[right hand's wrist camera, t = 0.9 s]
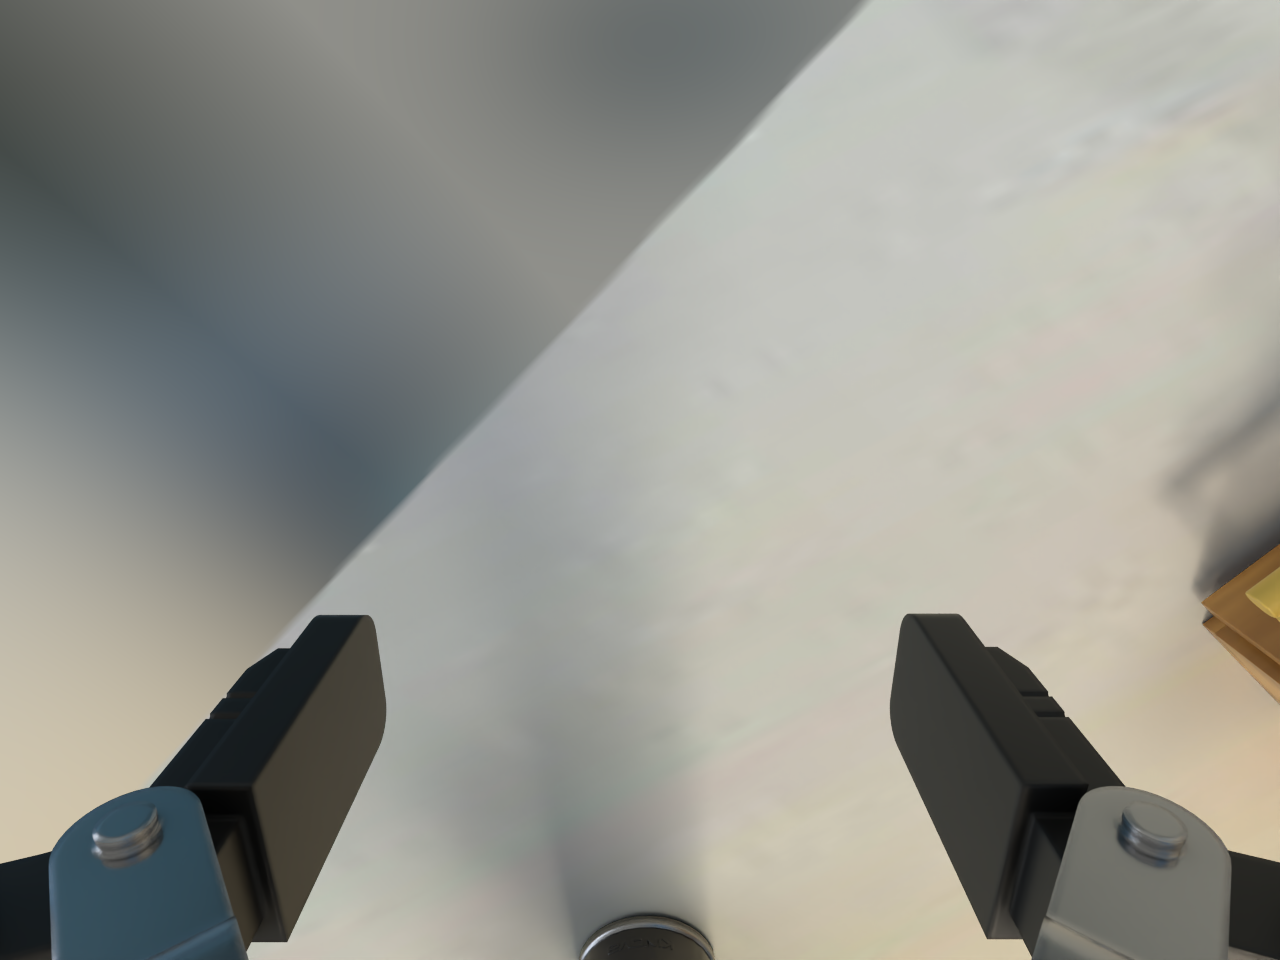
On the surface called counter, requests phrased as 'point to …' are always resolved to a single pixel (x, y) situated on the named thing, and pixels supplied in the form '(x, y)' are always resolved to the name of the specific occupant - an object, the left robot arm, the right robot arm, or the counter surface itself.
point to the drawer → (1253, 604)
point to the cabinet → (1248, 656)
